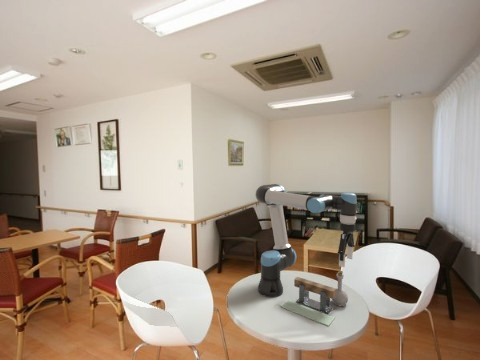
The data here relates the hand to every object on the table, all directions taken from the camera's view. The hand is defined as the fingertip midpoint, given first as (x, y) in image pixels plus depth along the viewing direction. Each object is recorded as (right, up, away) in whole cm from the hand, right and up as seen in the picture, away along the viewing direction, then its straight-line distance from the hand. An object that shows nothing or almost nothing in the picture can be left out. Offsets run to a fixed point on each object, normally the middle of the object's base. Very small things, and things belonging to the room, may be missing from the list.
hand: (345, 262), depth 134 cm
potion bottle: (-1, -25, +7) cm, 26 cm away
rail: (-15, -17, +4) cm, 23 cm away
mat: (-21, -25, -2) cm, 33 cm away
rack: (-15, -25, +5) cm, 30 cm away
